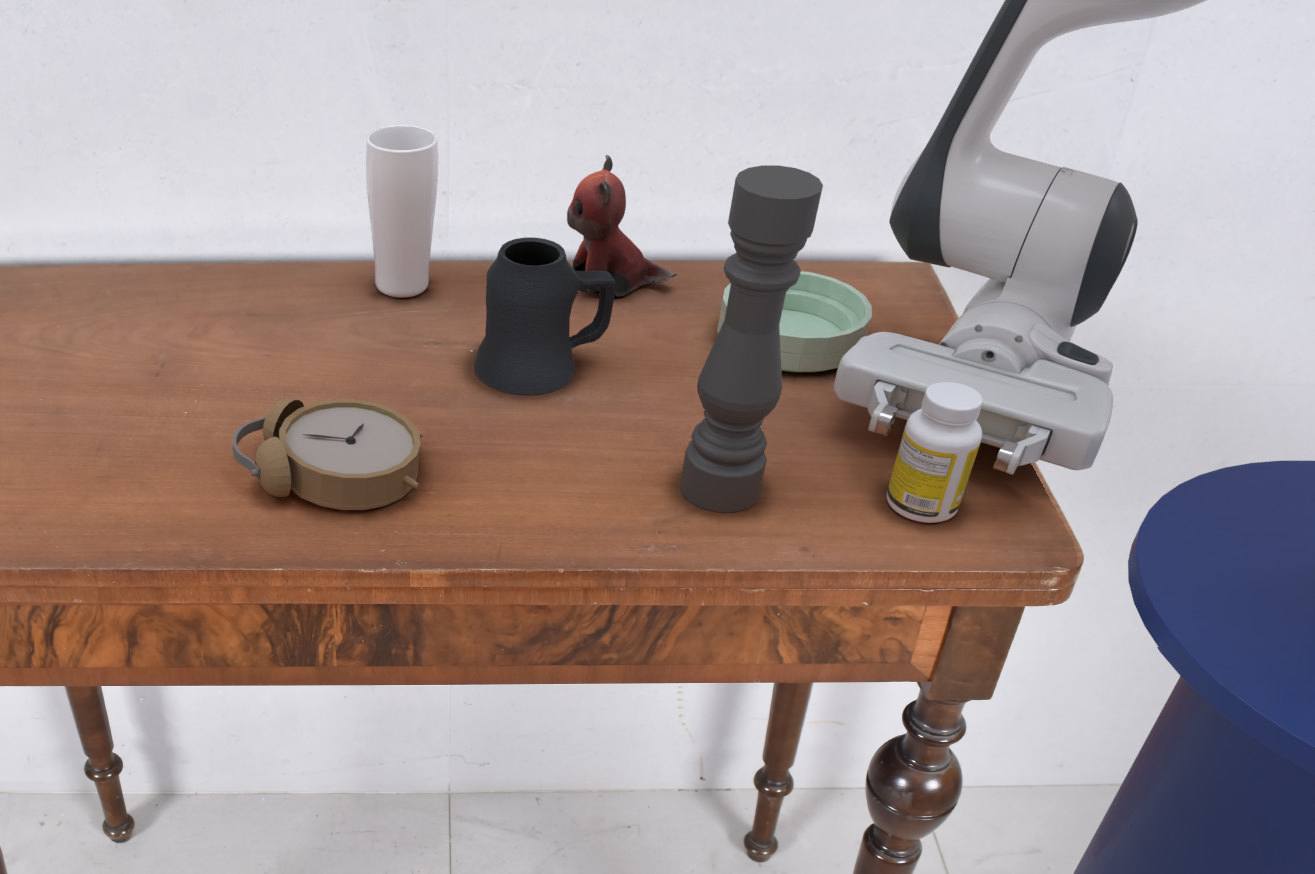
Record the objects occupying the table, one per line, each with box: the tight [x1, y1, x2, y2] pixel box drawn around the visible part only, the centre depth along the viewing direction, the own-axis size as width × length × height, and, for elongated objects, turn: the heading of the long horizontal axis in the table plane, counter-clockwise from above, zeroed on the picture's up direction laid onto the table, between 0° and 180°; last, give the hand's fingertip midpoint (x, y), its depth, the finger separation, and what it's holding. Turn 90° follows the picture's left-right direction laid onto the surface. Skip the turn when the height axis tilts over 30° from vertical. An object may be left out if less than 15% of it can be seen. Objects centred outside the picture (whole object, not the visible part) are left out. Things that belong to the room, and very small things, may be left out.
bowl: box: [716, 270, 873, 373], centre depth 119 cm, size 13×13×4 cm
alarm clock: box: [232, 397, 424, 511], centre depth 103 cm, size 11×5×15 cm
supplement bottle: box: [886, 382, 983, 524], centre depth 97 cm, size 5×5×10 cm
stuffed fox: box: [566, 154, 679, 297], centre depth 124 cm, size 8×11×12 cm
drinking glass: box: [365, 124, 439, 299], centre depth 123 cm, size 7×7×15 cm
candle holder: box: [679, 164, 824, 513], centre depth 94 cm, size 6×6×25 cm
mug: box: [473, 236, 615, 395], centre depth 113 cm, size 12×9×11 cm
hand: (940, 444), depth 97 cm, fingers open, 8 cm apart
